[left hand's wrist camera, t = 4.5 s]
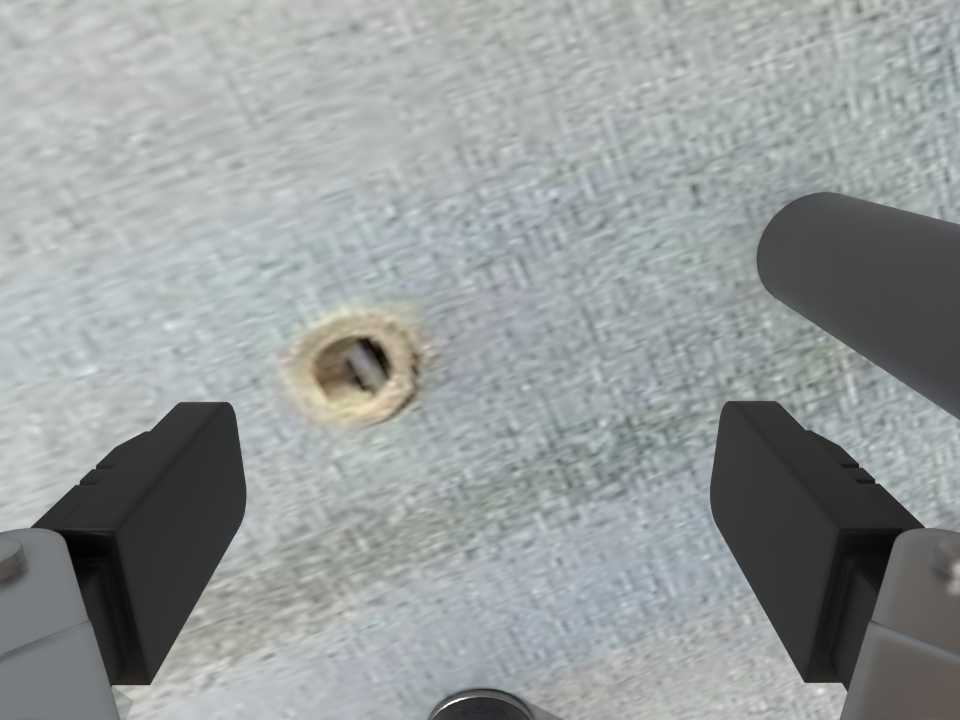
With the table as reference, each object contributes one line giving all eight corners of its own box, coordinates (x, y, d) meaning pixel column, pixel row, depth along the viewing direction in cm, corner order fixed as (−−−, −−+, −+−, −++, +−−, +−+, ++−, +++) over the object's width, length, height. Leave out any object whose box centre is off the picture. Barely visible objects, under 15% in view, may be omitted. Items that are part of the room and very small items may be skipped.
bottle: (804, 328, 45) (1165, 580, 21) (732, 255, 43) (1039, 441, 19) (897, 247, 43) (1408, 425, 19) (826, 166, 41) (1293, 253, 17)
